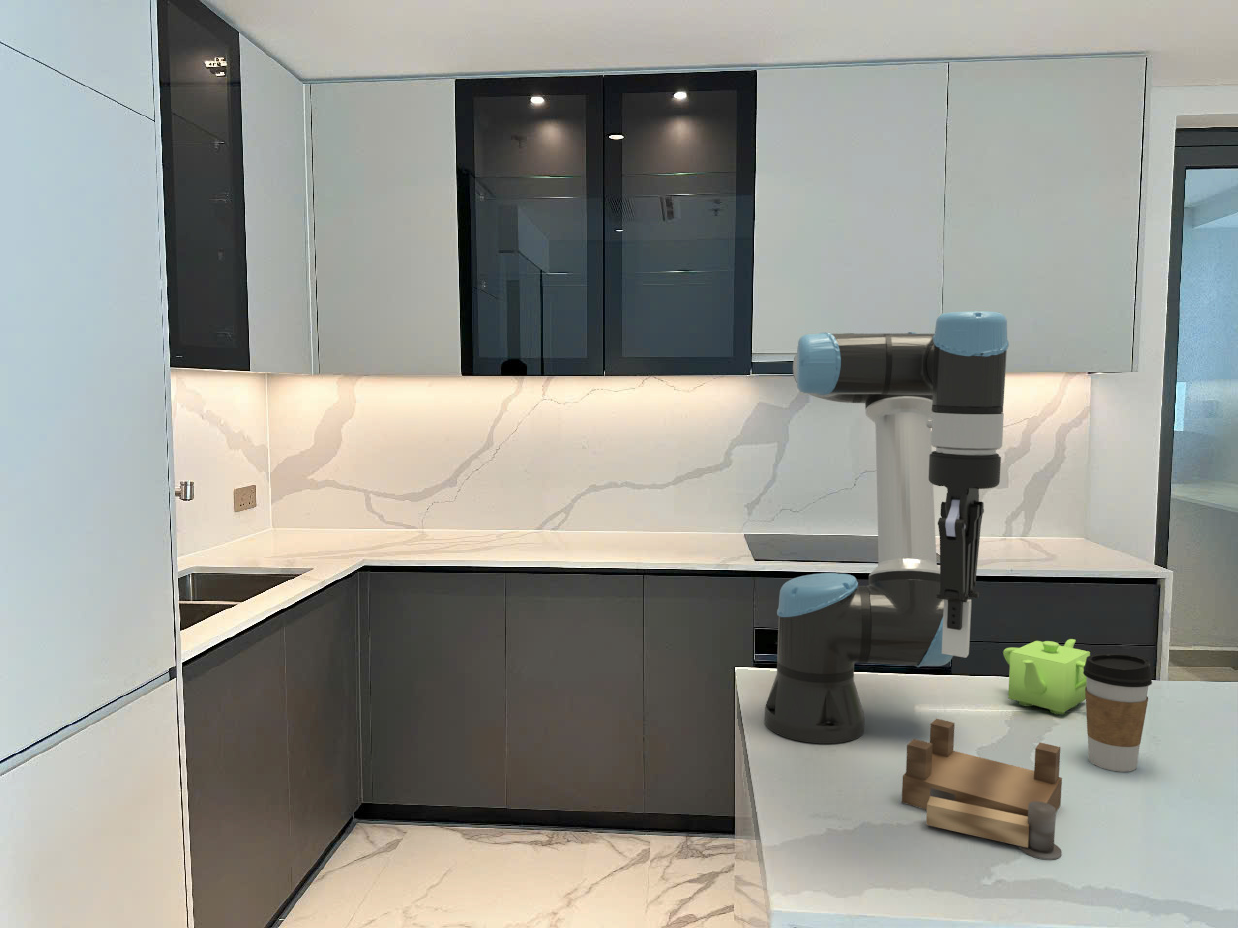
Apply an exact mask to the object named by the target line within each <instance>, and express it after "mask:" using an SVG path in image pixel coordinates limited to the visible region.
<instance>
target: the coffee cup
mask: <svg viewBox="0 0 1238 928" xmlns="http://www.w3.org/2000/svg"><path fill="white" fill-rule="evenodd" d="M1151 666H1152V665H1151V661H1150V660H1148V659H1147V658H1144V657H1141V656H1138V655H1135V654H1134V655H1133V654H1124V653H1099V654H1098V653H1097V654H1090V656H1088V657H1087V659H1086V663H1085V666H1084V668H1083V669H1084V671H1083V674H1084V675H1085V676H1086V680H1087V686H1086V688H1085V696H1086V699H1085V711H1086V728H1087V729H1086V731H1087V746H1088V748H1087V750H1088V752H1087V753H1088V761H1089V762H1090V763H1091V764H1093V765H1094V766H1096V767H1099V768H1101V769H1105V770H1108V771H1113V772H1119V773H1120V772H1121V773H1125V772H1126V773H1127V772H1134V771H1135V770H1136V769H1137V767H1138V759H1139V754H1140V753H1139V752H1140V746H1141V743H1142V742H1141V741H1142V736H1143V730H1144V724H1145V720H1146V719H1145V718H1146V714H1147V713H1146V712H1147V707H1148V702H1149V696H1148V690H1149V686H1151V685H1152V684H1153V681H1152V680H1153V675H1152V669H1151Z"/></svg>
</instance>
